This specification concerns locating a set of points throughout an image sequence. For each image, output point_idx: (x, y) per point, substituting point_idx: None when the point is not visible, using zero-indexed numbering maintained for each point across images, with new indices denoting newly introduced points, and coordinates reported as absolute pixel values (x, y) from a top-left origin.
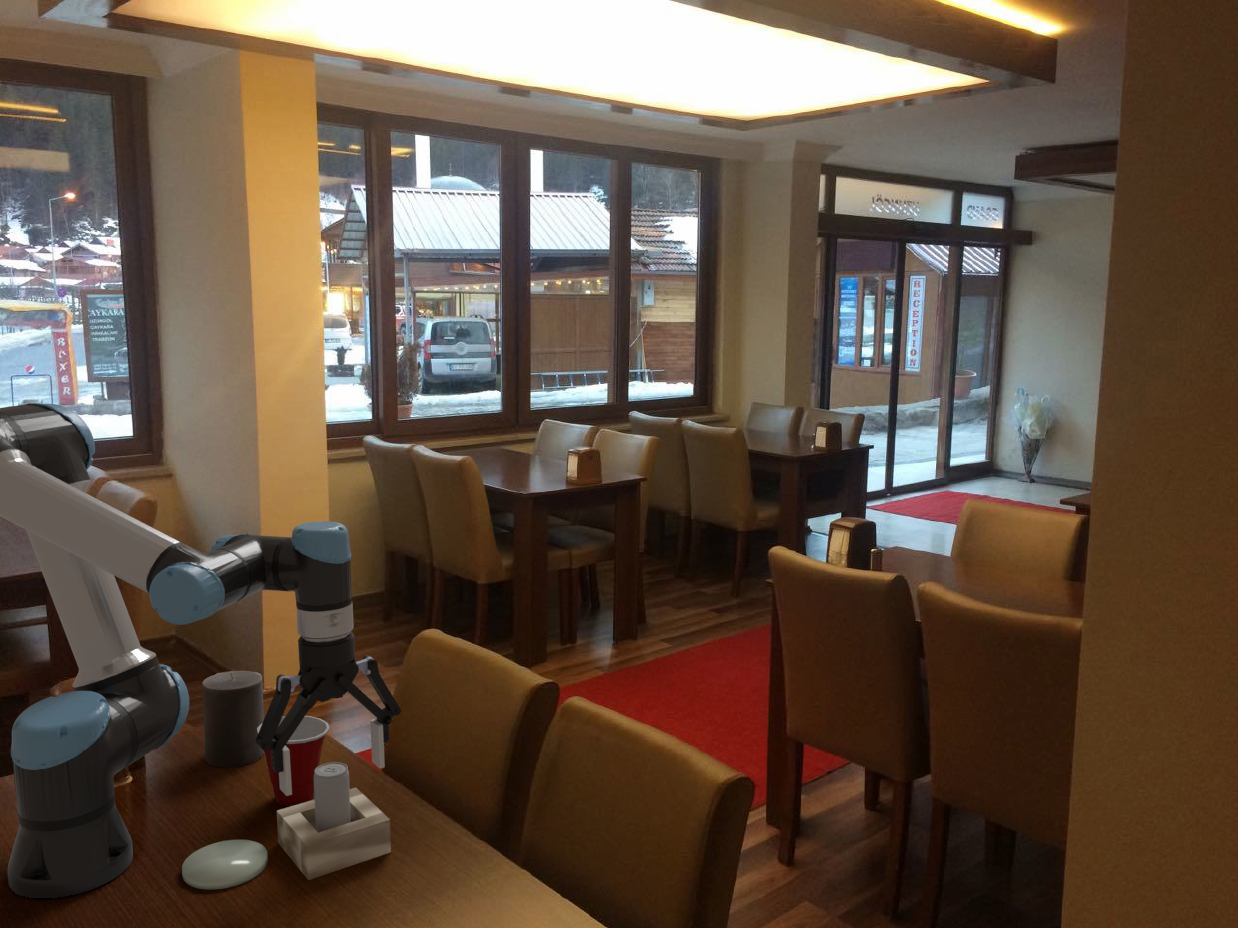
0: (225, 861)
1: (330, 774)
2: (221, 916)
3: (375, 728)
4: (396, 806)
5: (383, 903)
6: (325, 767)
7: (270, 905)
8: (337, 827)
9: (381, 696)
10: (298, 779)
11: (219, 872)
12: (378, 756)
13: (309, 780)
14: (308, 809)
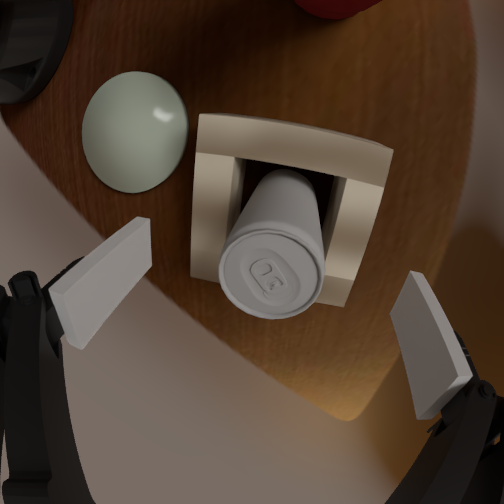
0: (125, 137)
1: (250, 300)
2: (106, 238)
3: (425, 392)
4: (440, 164)
5: (255, 341)
6: (265, 252)
7: (152, 259)
8: None
9: (471, 491)
10: (318, 5)
11: (112, 161)
12: (400, 330)
13: (346, 12)
14: (255, 157)
